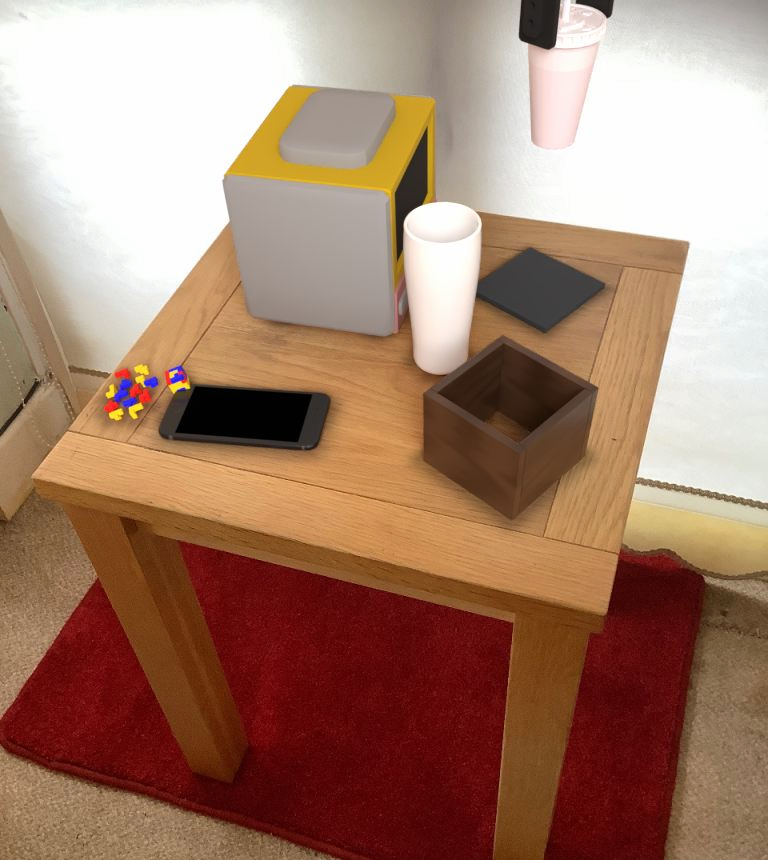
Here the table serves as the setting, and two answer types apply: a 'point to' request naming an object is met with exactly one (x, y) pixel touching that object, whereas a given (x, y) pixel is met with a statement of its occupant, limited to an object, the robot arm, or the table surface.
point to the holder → (520, 401)
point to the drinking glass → (441, 282)
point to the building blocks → (174, 379)
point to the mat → (538, 289)
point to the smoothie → (563, 75)
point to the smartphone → (246, 417)
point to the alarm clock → (331, 206)
